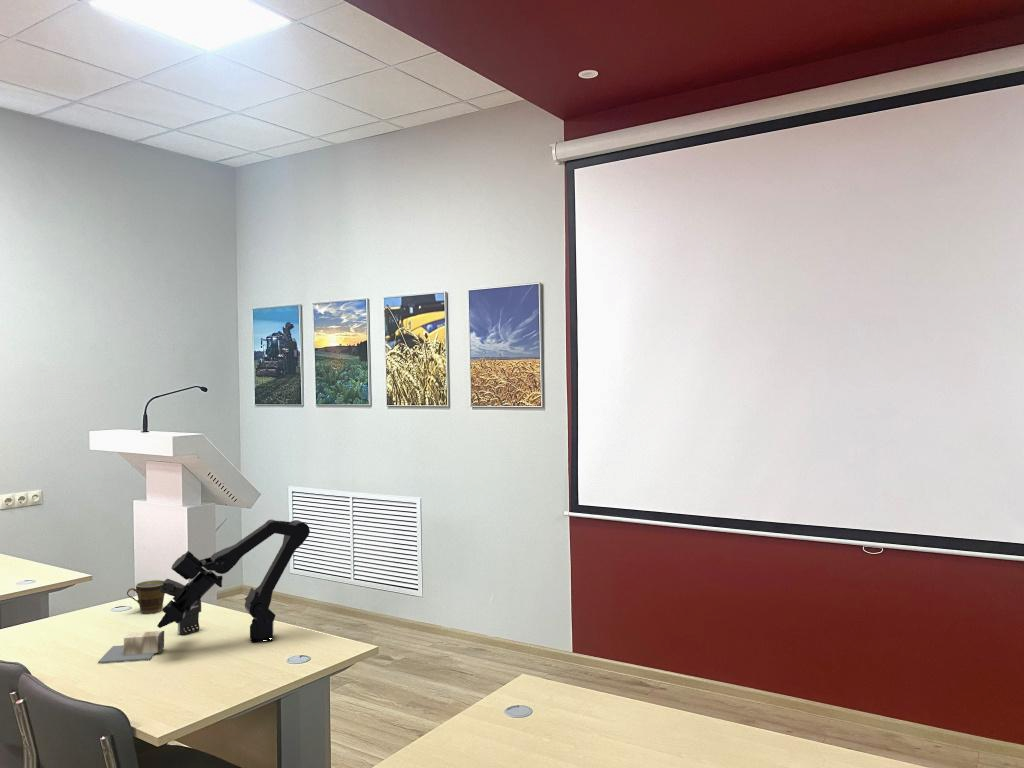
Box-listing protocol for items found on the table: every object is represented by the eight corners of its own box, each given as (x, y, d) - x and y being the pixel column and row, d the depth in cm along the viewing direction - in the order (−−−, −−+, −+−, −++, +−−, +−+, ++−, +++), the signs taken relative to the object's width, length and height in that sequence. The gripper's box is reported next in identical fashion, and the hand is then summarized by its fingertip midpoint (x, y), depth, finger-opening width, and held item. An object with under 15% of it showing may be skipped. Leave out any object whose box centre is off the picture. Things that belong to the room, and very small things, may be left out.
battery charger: (183, 636, 244) (183, 600, 244) (176, 634, 246) (176, 599, 246) (203, 630, 250) (203, 595, 250) (195, 628, 252) (196, 594, 252)
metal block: (164, 630, 232) (128, 632, 230) (160, 635, 227) (123, 638, 225) (164, 647, 232) (128, 649, 230) (160, 652, 227) (123, 655, 225)
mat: (161, 644, 236) (161, 642, 236) (150, 660, 222) (150, 658, 222) (112, 647, 233) (112, 645, 233) (97, 663, 219) (97, 661, 219)
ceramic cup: (161, 606, 279) (162, 578, 279) (170, 612, 271) (170, 583, 272) (123, 612, 271) (123, 584, 271) (130, 619, 263) (130, 590, 263)
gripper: (184, 563, 240) (146, 600, 237) (170, 577, 221) (129, 617, 219) (210, 587, 241) (173, 624, 239) (199, 603, 223) (158, 643, 220)
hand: (158, 626), depth 229 cm, fingers closed
